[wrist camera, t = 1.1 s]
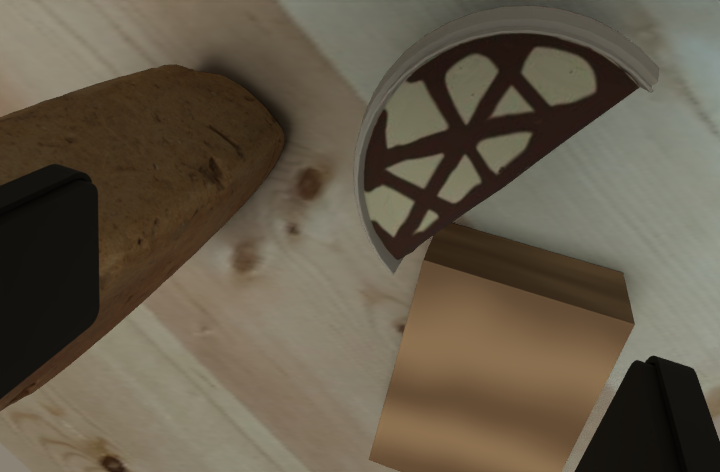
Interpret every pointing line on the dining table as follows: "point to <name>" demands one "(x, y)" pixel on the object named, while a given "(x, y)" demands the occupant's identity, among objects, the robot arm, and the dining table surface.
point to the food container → (481, 114)
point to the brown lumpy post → (145, 176)
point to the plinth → (499, 357)
